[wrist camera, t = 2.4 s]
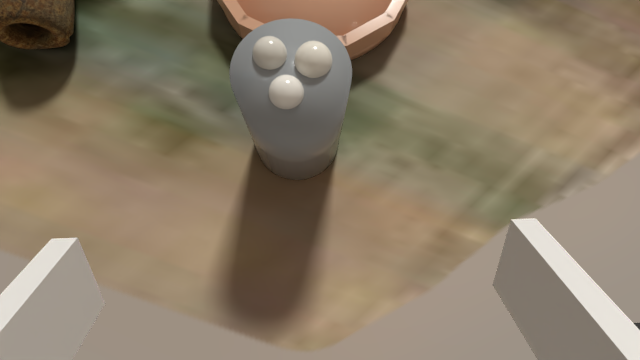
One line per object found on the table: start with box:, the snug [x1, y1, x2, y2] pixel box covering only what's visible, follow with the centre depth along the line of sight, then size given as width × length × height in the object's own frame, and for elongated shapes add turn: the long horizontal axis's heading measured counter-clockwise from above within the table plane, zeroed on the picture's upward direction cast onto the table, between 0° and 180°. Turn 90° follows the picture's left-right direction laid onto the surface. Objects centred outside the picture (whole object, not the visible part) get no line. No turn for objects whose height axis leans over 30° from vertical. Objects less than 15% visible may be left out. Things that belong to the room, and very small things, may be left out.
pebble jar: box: [230, 18, 352, 180], centre depth 26 cm, size 7×7×12 cm
